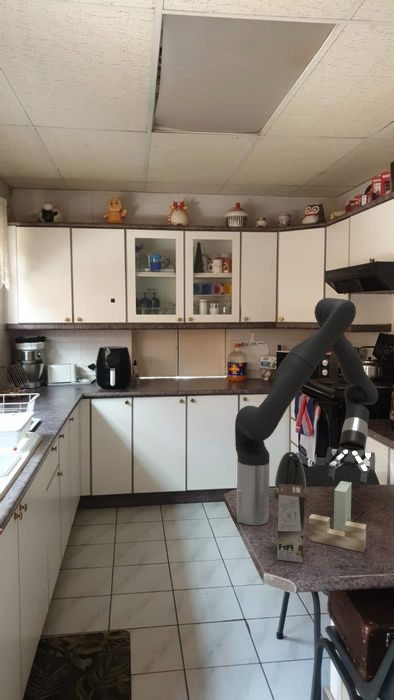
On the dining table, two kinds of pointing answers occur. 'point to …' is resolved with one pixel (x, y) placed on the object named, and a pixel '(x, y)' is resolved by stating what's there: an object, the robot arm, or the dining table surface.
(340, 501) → the mint green upright block
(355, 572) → the dining table surface
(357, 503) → the dining table surface
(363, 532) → the birch slotted plate
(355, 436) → the robot arm
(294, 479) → the dark grey rounded-top part
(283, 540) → the coffee box
